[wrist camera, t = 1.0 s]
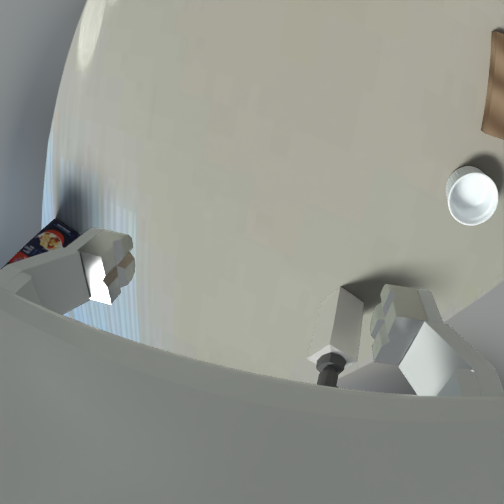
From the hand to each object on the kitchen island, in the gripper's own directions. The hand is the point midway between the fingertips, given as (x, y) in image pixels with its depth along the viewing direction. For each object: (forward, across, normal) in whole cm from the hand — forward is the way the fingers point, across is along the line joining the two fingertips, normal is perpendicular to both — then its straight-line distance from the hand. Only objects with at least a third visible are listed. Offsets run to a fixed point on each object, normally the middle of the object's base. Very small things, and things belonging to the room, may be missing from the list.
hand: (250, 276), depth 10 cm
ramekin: (+39, -27, +3) cm, 47 cm away
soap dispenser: (+44, -14, +34) cm, 58 cm away
